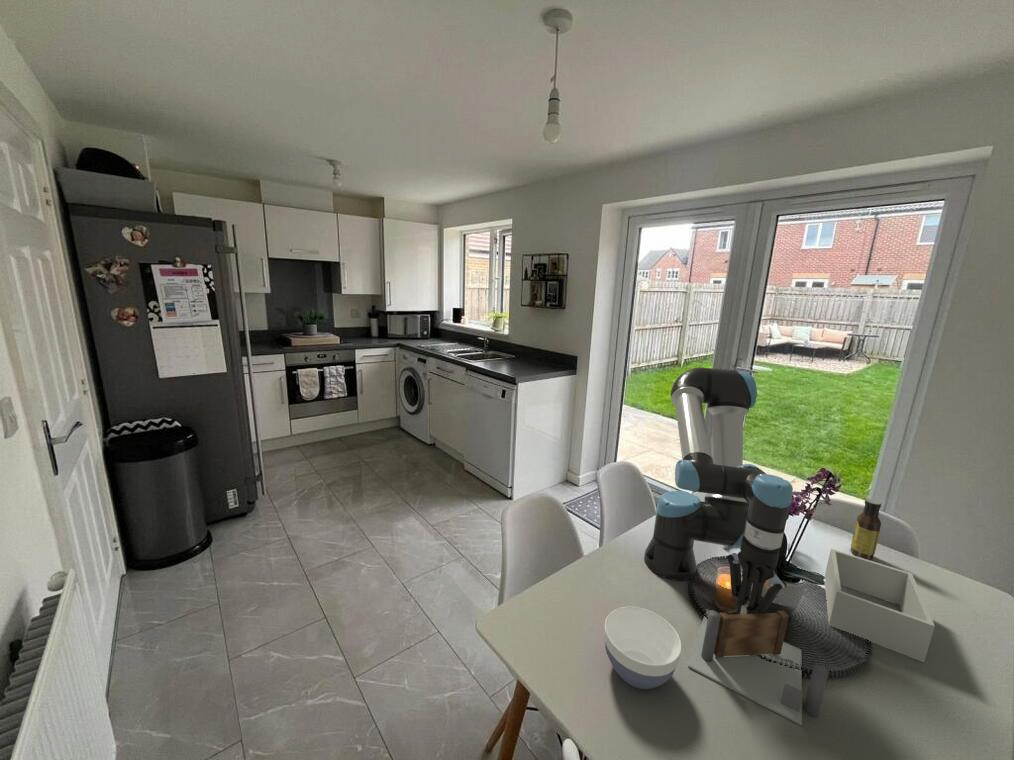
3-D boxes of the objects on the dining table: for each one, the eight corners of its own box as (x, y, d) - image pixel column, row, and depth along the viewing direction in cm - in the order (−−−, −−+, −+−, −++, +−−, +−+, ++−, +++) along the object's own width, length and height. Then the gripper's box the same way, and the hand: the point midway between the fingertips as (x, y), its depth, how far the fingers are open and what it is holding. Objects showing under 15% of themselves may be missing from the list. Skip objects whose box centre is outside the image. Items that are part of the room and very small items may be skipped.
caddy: (828, 625, 107) (836, 591, 105) (824, 577, 126) (830, 548, 124) (924, 662, 97) (934, 626, 95) (903, 604, 116) (911, 573, 114)
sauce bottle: (858, 548, 143) (871, 496, 139) (878, 559, 137) (892, 505, 133) (844, 550, 142) (857, 497, 138) (863, 561, 136) (877, 506, 132)
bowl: (667, 720, 80) (674, 680, 78) (590, 678, 88) (594, 640, 86) (681, 662, 93) (687, 626, 91) (613, 630, 101) (617, 596, 100)
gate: (716, 657, 94) (723, 618, 92) (712, 651, 95) (719, 612, 93) (780, 654, 96) (788, 615, 94) (775, 648, 97) (783, 610, 95)
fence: (688, 667, 92) (695, 621, 90) (706, 610, 110) (712, 570, 108) (819, 734, 79) (832, 683, 77) (815, 657, 97) (825, 613, 94)
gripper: (725, 530, 98) (709, 615, 103) (781, 561, 88) (760, 655, 92) (743, 524, 102) (727, 606, 107) (800, 553, 91) (779, 643, 96)
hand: (742, 629), depth 99 cm, fingers closed
